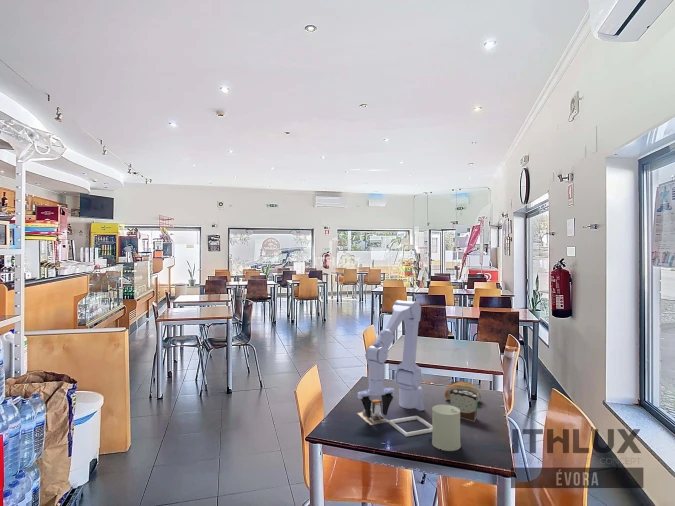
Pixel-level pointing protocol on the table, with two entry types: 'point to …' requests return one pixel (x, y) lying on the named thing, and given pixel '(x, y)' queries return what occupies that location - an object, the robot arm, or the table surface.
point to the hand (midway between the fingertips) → (376, 415)
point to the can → (446, 427)
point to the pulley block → (369, 420)
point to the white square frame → (409, 420)
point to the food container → (465, 402)
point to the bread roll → (461, 385)
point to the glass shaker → (376, 409)
